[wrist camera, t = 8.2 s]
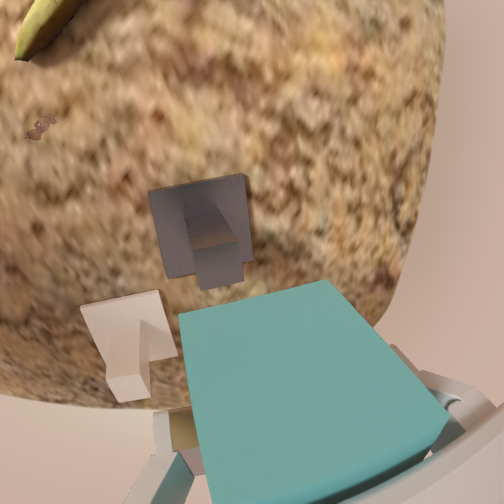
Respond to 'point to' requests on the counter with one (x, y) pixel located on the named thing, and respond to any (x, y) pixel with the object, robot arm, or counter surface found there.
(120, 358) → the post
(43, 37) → the banana
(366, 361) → the teal rectangular block
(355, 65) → the counter surface
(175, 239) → the post
